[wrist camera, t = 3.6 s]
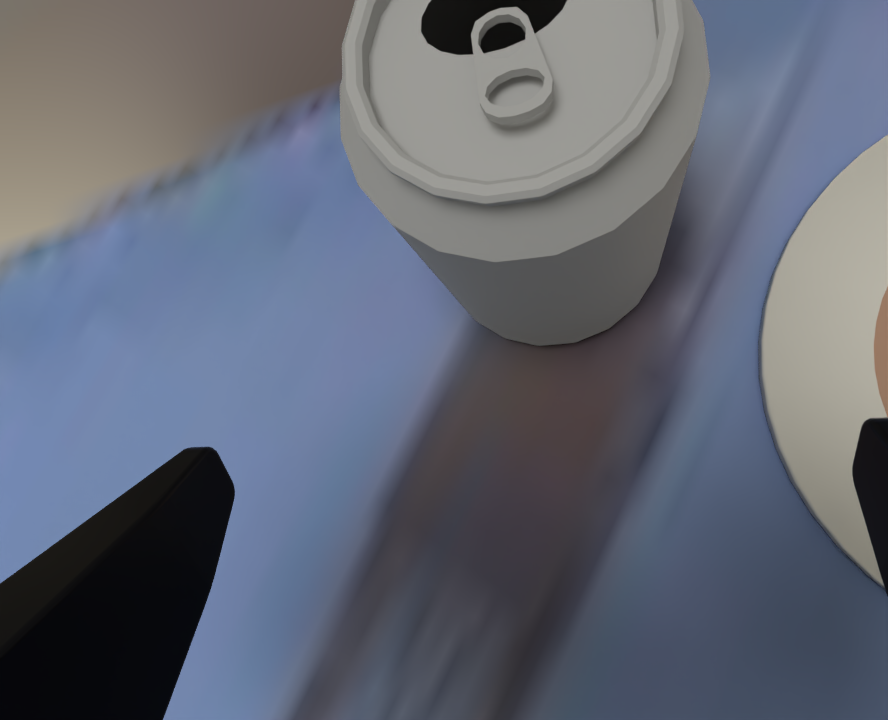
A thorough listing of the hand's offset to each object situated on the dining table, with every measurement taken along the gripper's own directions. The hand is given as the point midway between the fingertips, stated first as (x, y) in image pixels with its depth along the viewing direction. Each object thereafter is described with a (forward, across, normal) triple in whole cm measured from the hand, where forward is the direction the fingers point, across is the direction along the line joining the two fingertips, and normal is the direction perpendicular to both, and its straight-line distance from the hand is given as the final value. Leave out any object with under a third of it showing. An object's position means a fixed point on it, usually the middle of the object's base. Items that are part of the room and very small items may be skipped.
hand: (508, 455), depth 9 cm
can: (+15, 0, +4) cm, 15 cm away
